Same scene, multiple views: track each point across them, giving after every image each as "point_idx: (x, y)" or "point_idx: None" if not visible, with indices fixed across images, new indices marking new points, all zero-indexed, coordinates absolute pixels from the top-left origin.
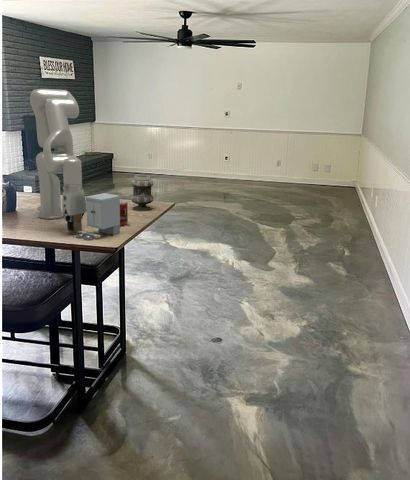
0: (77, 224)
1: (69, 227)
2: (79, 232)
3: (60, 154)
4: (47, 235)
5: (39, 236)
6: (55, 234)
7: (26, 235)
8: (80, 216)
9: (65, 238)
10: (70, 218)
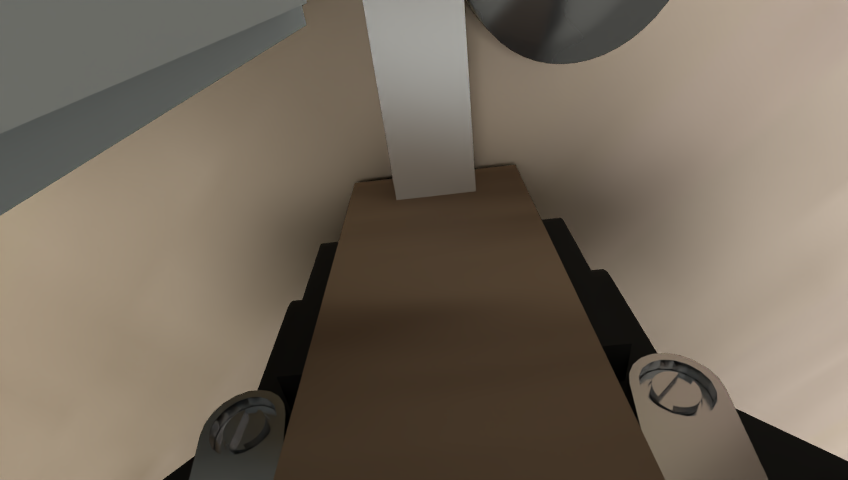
0: (454, 271)
1: (609, 289)
2: (468, 112)
3: None
4: (744, 359)
5: (824, 378)
6: (656, 338)
7: None
8: (308, 455)
9: (779, 92)
10: (746, 455)
